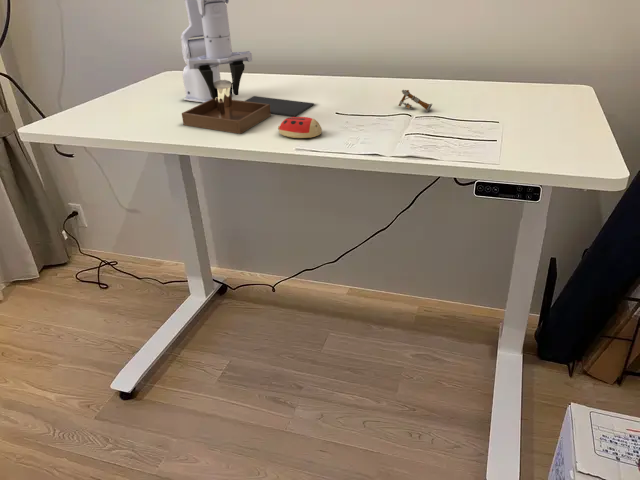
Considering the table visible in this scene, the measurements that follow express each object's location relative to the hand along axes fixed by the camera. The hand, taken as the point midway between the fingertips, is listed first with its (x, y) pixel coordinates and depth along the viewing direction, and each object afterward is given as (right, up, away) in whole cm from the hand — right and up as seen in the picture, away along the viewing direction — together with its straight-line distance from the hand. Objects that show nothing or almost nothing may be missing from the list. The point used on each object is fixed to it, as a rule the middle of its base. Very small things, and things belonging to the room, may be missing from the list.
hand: (224, 96), depth 131 cm
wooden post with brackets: (+45, -2, +5) cm, 46 cm away
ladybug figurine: (+18, -10, -7) cm, 22 cm away
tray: (0, -5, +3) cm, 6 cm away
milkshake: (0, -5, +3) cm, 6 cm away
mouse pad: (+11, 0, +11) cm, 15 cm away
